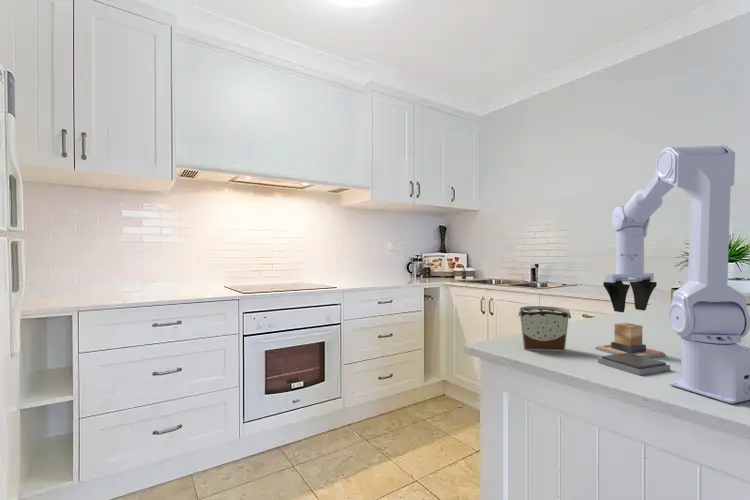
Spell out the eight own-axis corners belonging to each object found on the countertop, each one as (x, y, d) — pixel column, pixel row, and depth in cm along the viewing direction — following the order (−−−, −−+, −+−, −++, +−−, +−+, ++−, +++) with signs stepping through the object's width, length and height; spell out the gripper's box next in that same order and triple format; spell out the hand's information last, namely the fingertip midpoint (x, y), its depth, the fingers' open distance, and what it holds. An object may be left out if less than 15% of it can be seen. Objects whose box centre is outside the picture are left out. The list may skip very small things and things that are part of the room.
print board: (665, 355, 89) (665, 351, 89) (635, 359, 85) (635, 356, 85) (623, 345, 98) (623, 342, 98) (595, 348, 94) (595, 345, 94)
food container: (562, 344, 98) (562, 306, 98) (571, 351, 92) (571, 310, 92) (512, 343, 100) (512, 305, 100) (518, 349, 94) (518, 308, 94)
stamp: (645, 351, 90) (646, 325, 90) (631, 353, 88) (631, 327, 88) (625, 346, 95) (625, 322, 95) (611, 348, 93) (611, 323, 93)
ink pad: (670, 370, 78) (670, 362, 78) (639, 375, 75) (639, 367, 75) (627, 358, 86) (627, 351, 86) (598, 362, 83) (598, 355, 83)
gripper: (634, 255, 101) (634, 306, 101) (593, 255, 95) (593, 310, 96) (662, 255, 94) (662, 310, 94) (620, 256, 89) (620, 314, 89)
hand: (629, 310), depth 94 cm, fingers open, 7 cm apart
